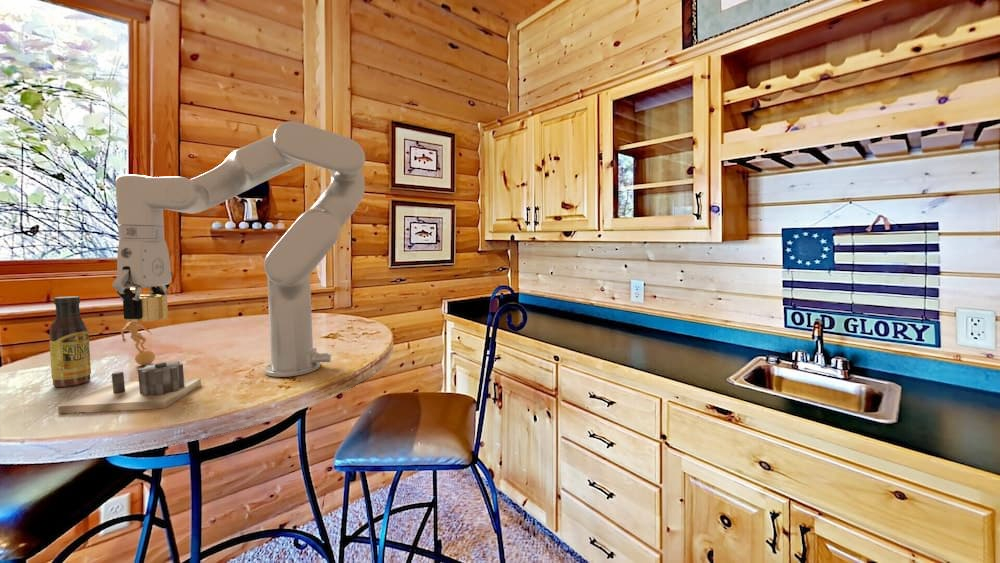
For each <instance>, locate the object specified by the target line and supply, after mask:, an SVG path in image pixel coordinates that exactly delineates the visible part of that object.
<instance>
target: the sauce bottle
mask: <svg viewBox="0 0 1000 563" xmlns="http://www.w3.org/2000/svg"><path fill="white" fill-rule="evenodd" d="M80 303H81V298H80V296H78V295H76V296H74V295H73V296H71V295H70V296H57V297H54V298H53V304H54V305H55V313H56V314H55V317H56V318H55V320H54V321H53V322H52V323H51V325H50V328H49V341H48V342H49V354H50V372H51V373H50V374H51V380H52V386H53V387H56V388H67V387H73V386H78V385H83V384H85V383H88V382H90V380H91V374H92V368H91V353H90V334H89V330H88V328H87V326H86V324H85V321H84V320H83V319H82V317H81V312H80Z"/></svg>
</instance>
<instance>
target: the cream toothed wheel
mask: <svg viewBox="0 0 1000 563" xmlns="http://www.w3.org/2000/svg"><path fill="white" fill-rule="evenodd" d="M139 300H142V316H143V317H142V319H124V322H138V323H140V322H155V321H158V320H166V319H167V318H169V310H168V309H169V308H168V306H169V305H168V294H167V295H160V294H153V295H152V294H140V297H139Z"/></svg>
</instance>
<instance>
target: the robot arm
mask: <svg viewBox="0 0 1000 563" xmlns="http://www.w3.org/2000/svg"><path fill="white" fill-rule="evenodd" d="M365 163H366V154H365V151H364V148H362V146H361V145H360V144H359V143H358V142H356V141H355V140H353V139H351V138H349V137H347V136H344V135H340V134H338V133H335V132H331V131H328V130H325V129H322V128H320V127H317V126H313V125H310V124H307V123H304V122H301V121H294V120H293V121H292V120H290V121H284V122H282V123H280V124H279V125H277V127H276V128H275V130H274V133H273V134H271V135H268V136H266V137H263V138H261V139H258V140H257V141H254V142H252V143H249V144H246V145H245V146H242V147H239V148H237V149H235V150H233V151H232V152H231V153H229V155H228V156H227V157H226V158H225V159H224V161H223V162H222V163H221V164H219V165H218V166H216V167H214V168H213V169H211V170H209V171H207V172H205V173H203V174H200V175H198V176H196V177H195V176H194V177H193V178H190V179H189V178H188V177H183V176H159V177H158V176H157V177H156V176H154V177H152V176H148V175H140V174H121V175H118V176H117V177H116V178H115V198H116V210H117V211H116V213H117V227H118V228H117V231H118V241H119V242H118V246H117V256H116V257H117V260H116V264H117V265H116V266H117V267H116V268H117V269H116V272H117V273H116V274H117V277H116V278H115V280H113V282H112V287H113V288H114V290H115V291H116V293H117V294H118V296H120V297H119V298H120V301H122V305H123V306H122V308H123V319H124V320H125V319H142V317H143V316H142V300H139V297H140V295H142V290H143V288H145V289H147V288H149V291H150V293H151V295H153V294H160V295H167V296H168V294H169V292H168V291H169V290H168V289H169V288H170V283H171V282H172V268H171V260H170V255H169V253H170V252H169V248H168V245H167V242H166V240H165V239H166V238H165V222H164V221H165V219H164V210H165V211H166V210H168V211H171V212H172V211H173V212H179V213H183V214H184V213H185V214H190V215H191V214H193V215H194V214H199V213H201V212H204V211H206V210H208V209H211V208H213V207H215V206H216V207H217V205H220V204H223V203H224V202H226V201H228V200H230V199H233V198H234V197H236V196H238V195H240V194H242V193H244V192H247V191H249V190H250V189H251V190H252V189H253V188H254V187H256V186H258V185H260V184H263V183H264V182H267V181H269V180H271V179H272V178H273V179H274V178H275V177H277V176H280V175H282V174H284V173H286V172H288V171H291V170H293V169H296V168H297V167H300V166H302V165H304V164H309V165H313V166H316V167H318V168H323V169H326V170H328V173H329V174H330V183H329V185H328V186H327V188H326V189H325V190H324V191H323V193H321V195H320V196H319V198H318V199H317V200H316V202H314V203H313V204H312V206H311V207H309V209H307V210H306V211H304V212H303V213H301V214H300V215H299V216H298V218H296V220H295V222H294V223H293V224H292V225H291V226H290V227H289V228H288V230H286V232H284V235H282V237H281V238H280V239H279V240H278V241H277V242H276V243H275V245H274V246H273V247H272V248H271V250H269V251H268V253H267V254H266V256H265V258H264V262H263V269H264V272H265V275H266V277H267V278H266V279H267V281H266V282H267V302H268V322H269V325H268V326H269V340H270V356H271V357H270V359H271V363H269V364H267V365H266V366H265V367H264V373H265V375H267V376H269V377H275V378H287V377H289V378H290V377H296V376H302V375H307V374H310V373H312V372H315V371H316V370H318V369H319V368H320V367H321V363H331V361H332V355H331V354H329V353H328V352H323V353H322V352H321V353H319V352H317V348H316V347H315V348H314V343H313V342H314V340H313V339H314V338H313V319H312V292H311V289H312V288H311V273H312V272H313V271H314V270H315V269H316V268H317V266H318V265H319V264H320V262H321V261H322V260H323V259H324V257H326V255H327V254H328V253H329V252H330V250H331V249H332V248H333V246H335V244H336V242H337V240H339V237H340V232H341V230H342V228H343V227H344V225H345V224H346V223H347V221H348V220H349V219H350V217H351V216H352V215H353V213H355V211H356V210H357V208H358V207H359V205H361V202H362V200H363V197H364V195H365V189H366V188H365V187H366V182H365V175H364V172H363V168H364V166H365ZM132 290H133V291H132Z"/></svg>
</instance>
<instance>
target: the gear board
mask: <svg viewBox="0 0 1000 563" xmlns="http://www.w3.org/2000/svg"><path fill="white" fill-rule="evenodd" d="M137 373H138V374H137V377H138V381H136V380H135V381H125V375H124V371H116V372H112V373H111V380H112V382H108V383H106V384H104V385H102V386H101V385H100V386H99V387H97V388H94V389H93V390H91V391H88V392H86V393H84V394H82V395H80V396H78V397H75V398H73V399H72V400H71V399H70V400H69V401H67V402H64V403H62V404H61V405H57V411H58V414H59V415H61V414H60V413H68V414H80V413H79V412H85V413H96V412H97V413H100V412H101V411H102V412H116V411H117V412H118V410H121V411H132V410H133V411H134V410H139V411H140V410H148V409H149V410H152V409H153V410H156V409H167V408H168V407H169V406H171V405H172V404H174V403H175V402H178V400H181V399H182V398H183V397H185V396H186V395H188V394H189V393H191V392H193V391H194V390H196V389H197V388H199V387H200V386H202V380H201V378H185V377H184V376H185V375H184V374H185V373H184V363H180V361H171V362H167V361H161V362H157V363H153V364H148V365H144V367H141V368H138V369H137ZM72 412H73V413H72ZM74 412H76V413H74Z"/></svg>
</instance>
